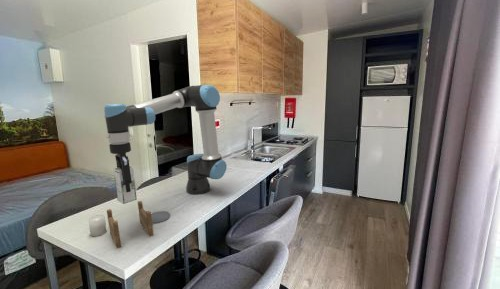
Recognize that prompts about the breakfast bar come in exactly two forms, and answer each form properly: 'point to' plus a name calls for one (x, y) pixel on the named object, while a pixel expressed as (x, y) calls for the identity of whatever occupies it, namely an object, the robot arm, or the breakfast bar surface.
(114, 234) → the oak stand
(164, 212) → the slate coaster
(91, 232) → the off-white capsule
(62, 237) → the breakfast bar surface
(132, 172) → the syrup box
